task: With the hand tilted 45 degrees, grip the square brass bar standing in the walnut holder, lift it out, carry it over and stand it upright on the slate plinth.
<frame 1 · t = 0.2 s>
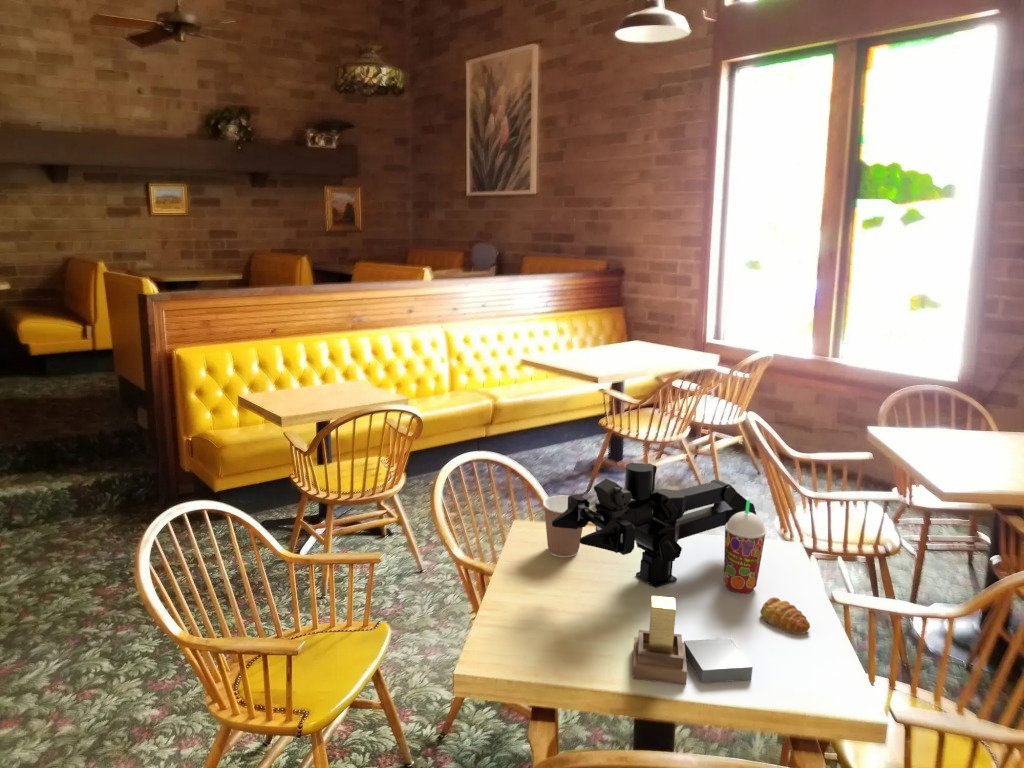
hand: (566, 532, 149), 17 cm above the table, tool horizontal, fingers open, 9 cm apart
brass bar: (659, 653, 134), point 2 cm above the table, touching walnut holder
slate plinth: (716, 666, 135), on the table
smoothie: (739, 588, 163), on the table
pastry: (783, 623, 150), on the table
coffee cup: (563, 551, 179), on the table
walnut holder: (658, 666, 134), on the table
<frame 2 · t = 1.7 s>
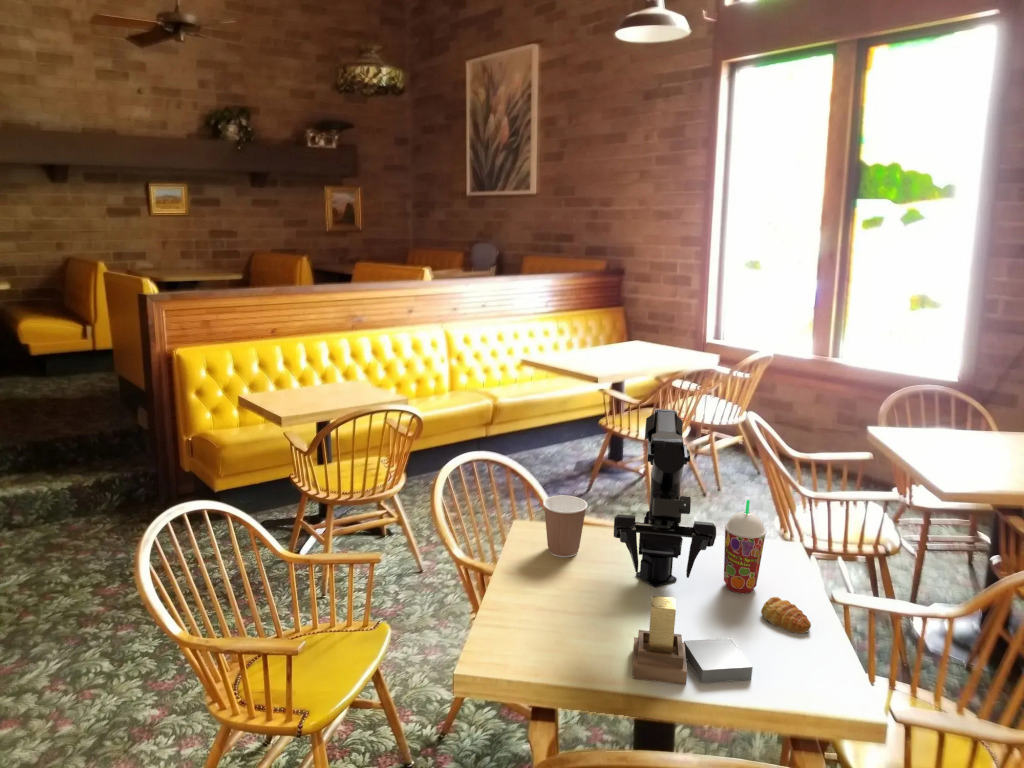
hand: (662, 574, 139), 14 cm above the table, tool tilted 45°, fingers open, 9 cm apart
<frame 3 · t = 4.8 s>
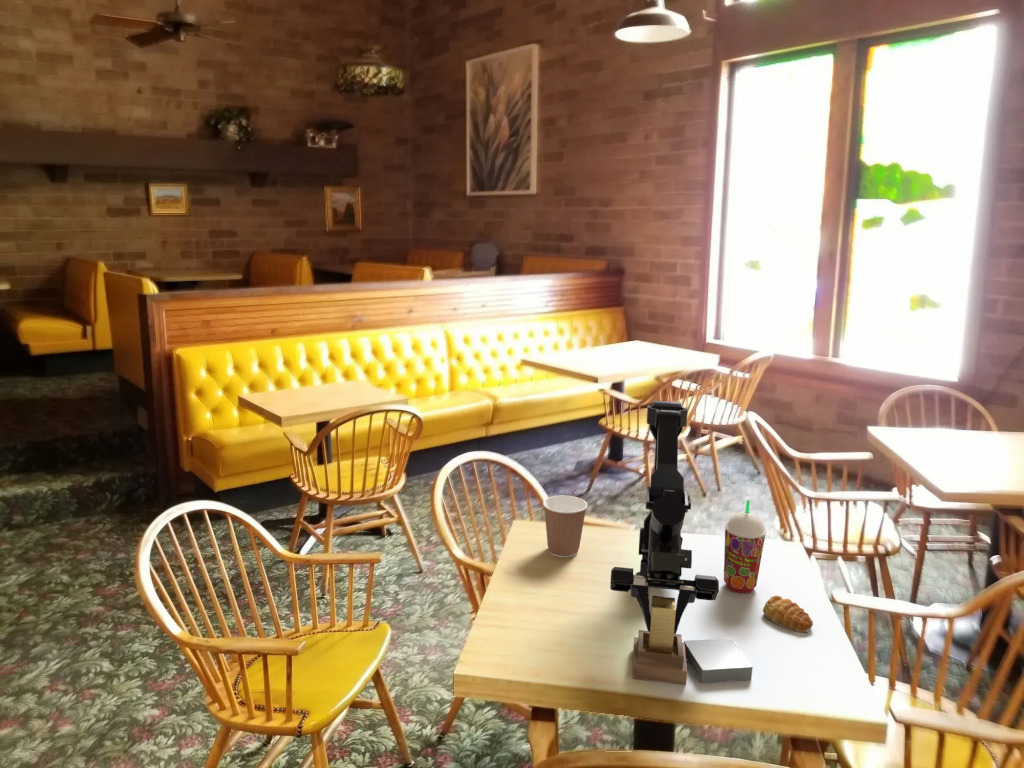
hand: (661, 632, 131), 8 cm above the table, tool tilted 45°, fingers closed on brass bar, 4 cm apart
brass bar: (659, 653, 134), point 2 cm above the table, touching gripper, walnut holder
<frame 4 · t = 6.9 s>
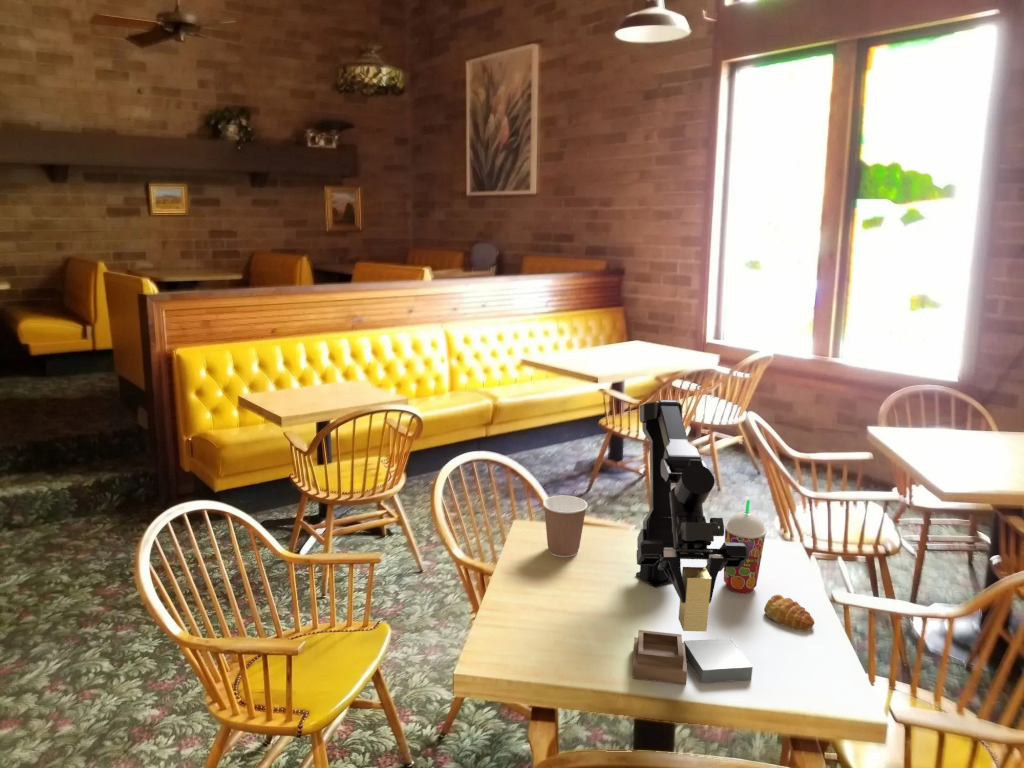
hand: (696, 602, 130), 13 cm above the table, tool tilted 45°, fingers closed on brass bar, 4 cm apart
brass bar: (692, 624, 132), point 8 cm above the table, touching gripper
when the fingers open (8 cm above the table, at t = 8.9 s): brass bar stays where it is, resting on slate plinth.
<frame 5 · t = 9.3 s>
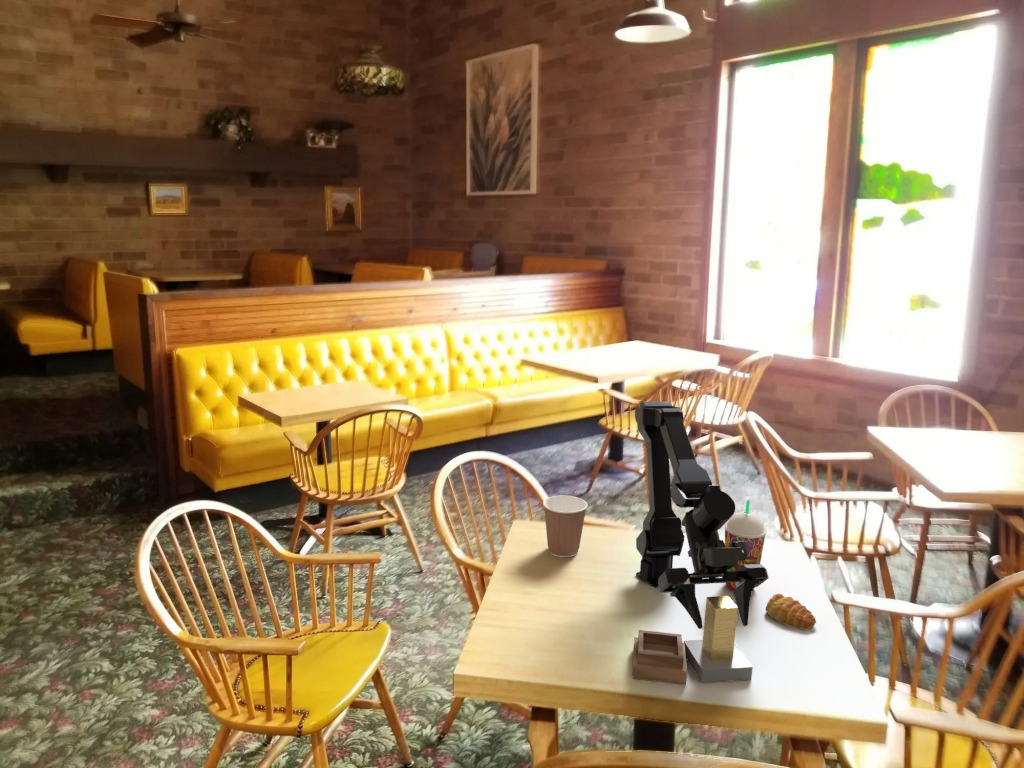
hand: (723, 626, 132), 9 cm above the table, tool tilted 45°, fingers open, 8 cm apart
brass bar: (717, 653, 134), point 2 cm above the table, touching slate plinth
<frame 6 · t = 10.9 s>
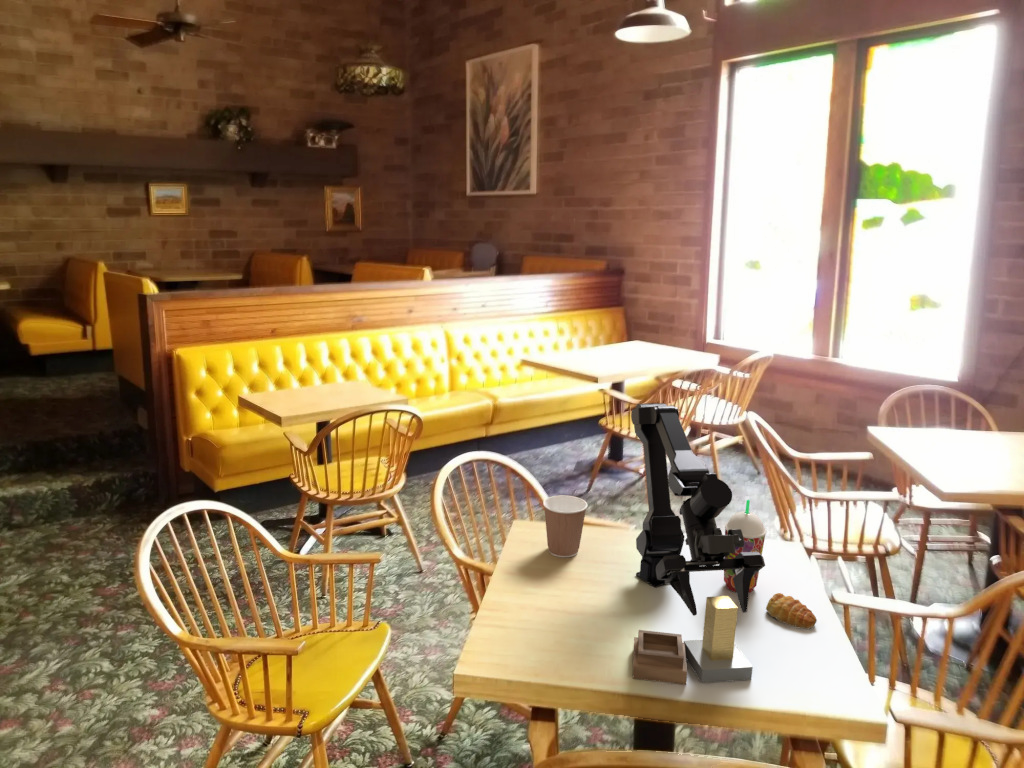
hand: (720, 613, 133), 10 cm above the table, tool tilted 45°, fingers open, 9 cm apart
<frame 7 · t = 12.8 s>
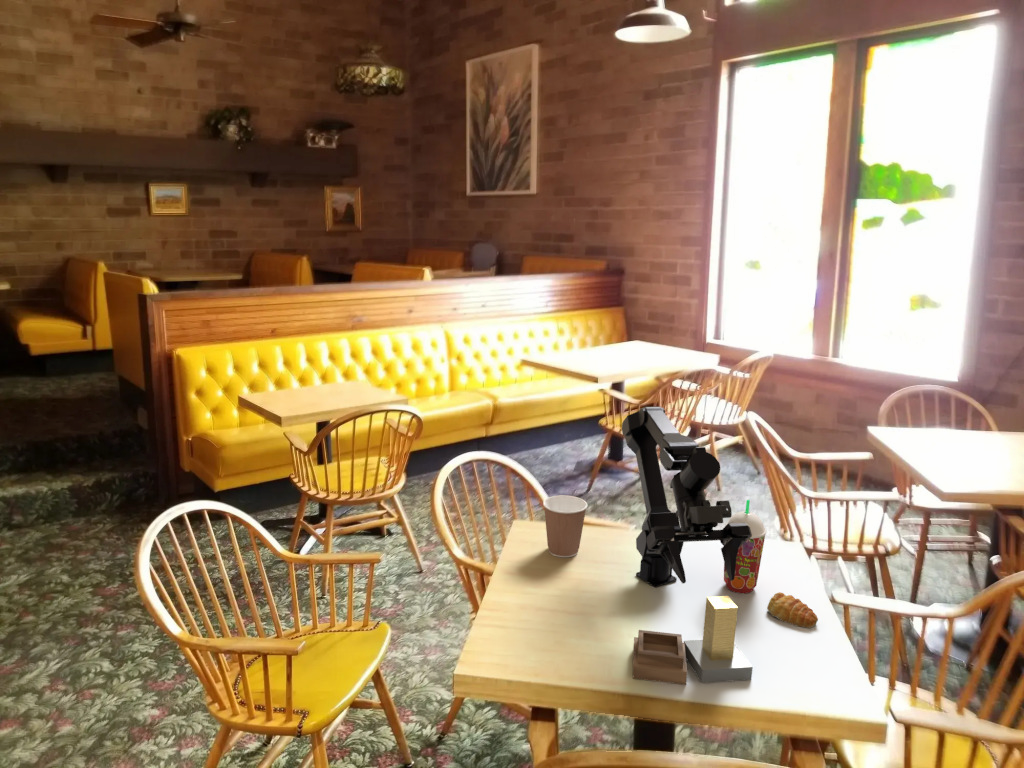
hand: (708, 581, 138), 13 cm above the table, tool tilted 45°, fingers open, 9 cm apart
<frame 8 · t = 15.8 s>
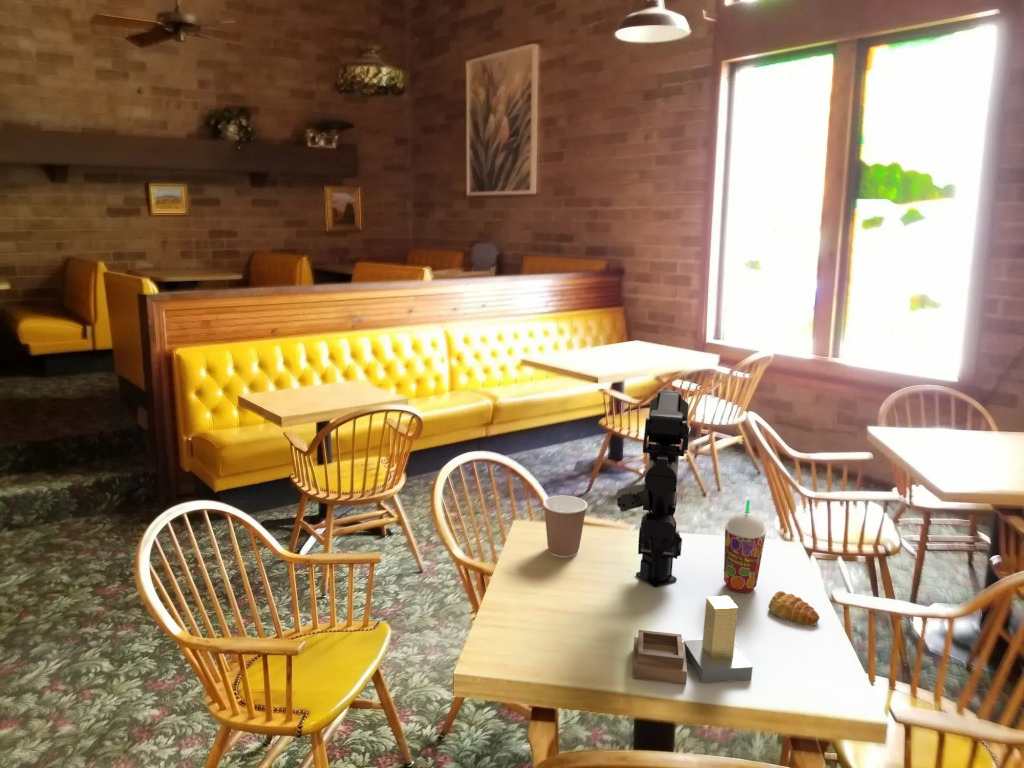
hand: (656, 551, 150), 13 cm above the table, tool pointing down, fingers open, 9 cm apart
at the end: brass bar 0.0 cm off-centre on the slate plinth, point 2.5 cm above the slate plinth's base; brass bar tilted 0°; the gripper is holding nothing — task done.
